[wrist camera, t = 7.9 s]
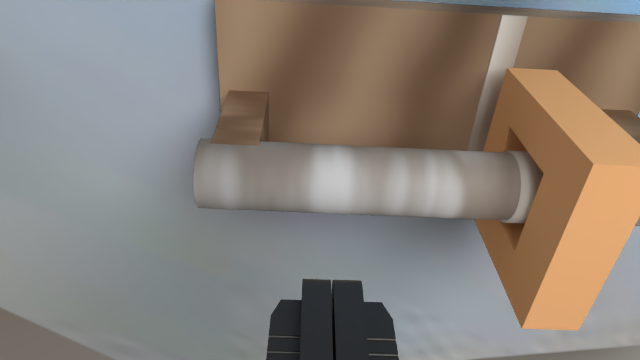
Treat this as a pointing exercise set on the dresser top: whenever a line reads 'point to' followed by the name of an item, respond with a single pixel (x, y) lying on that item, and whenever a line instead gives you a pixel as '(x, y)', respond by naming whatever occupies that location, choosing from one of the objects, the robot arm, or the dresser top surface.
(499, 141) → the collar
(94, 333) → the dresser top surface
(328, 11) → the pipe stand
